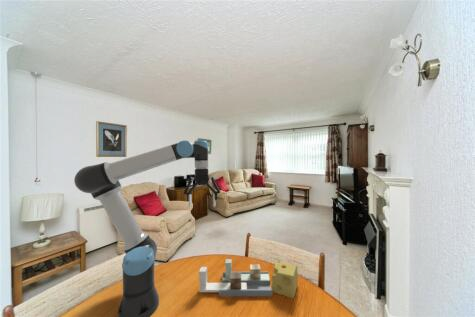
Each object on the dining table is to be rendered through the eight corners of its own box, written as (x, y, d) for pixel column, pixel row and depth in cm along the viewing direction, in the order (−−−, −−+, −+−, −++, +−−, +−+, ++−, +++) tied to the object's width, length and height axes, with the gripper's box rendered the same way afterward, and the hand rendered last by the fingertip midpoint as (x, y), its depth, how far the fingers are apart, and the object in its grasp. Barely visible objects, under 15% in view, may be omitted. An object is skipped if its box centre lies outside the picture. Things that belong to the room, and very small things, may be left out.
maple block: (250, 279, 89) (250, 269, 89) (250, 274, 93) (249, 264, 93) (260, 279, 89) (260, 269, 89) (259, 273, 93) (259, 264, 93)
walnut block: (230, 289, 82) (230, 278, 82) (231, 283, 87) (230, 272, 87) (241, 289, 82) (240, 278, 82) (241, 283, 86) (241, 272, 87)
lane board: (219, 296, 81) (219, 290, 81) (223, 276, 95) (222, 271, 95) (272, 296, 80) (272, 290, 80) (268, 276, 94) (268, 271, 94)
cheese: (271, 292, 83) (270, 270, 83) (277, 278, 92) (277, 259, 92) (294, 300, 78) (293, 276, 78) (298, 284, 87) (298, 264, 88)
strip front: (199, 292, 82) (198, 272, 83) (201, 284, 87) (201, 266, 88) (246, 292, 82) (246, 272, 82) (246, 284, 87) (246, 265, 87)
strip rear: (225, 282, 89) (225, 263, 89) (226, 275, 94) (226, 258, 94) (269, 281, 88) (269, 263, 88) (268, 275, 93) (267, 258, 93)
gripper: (177, 169, 97) (177, 208, 96) (222, 167, 96) (223, 207, 95) (181, 168, 104) (182, 205, 104) (224, 167, 103) (225, 204, 103)
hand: (202, 206), depth 99 cm, fingers open, 13 cm apart
